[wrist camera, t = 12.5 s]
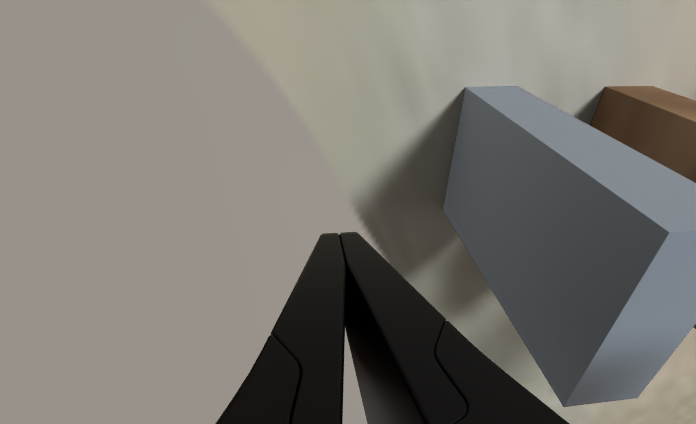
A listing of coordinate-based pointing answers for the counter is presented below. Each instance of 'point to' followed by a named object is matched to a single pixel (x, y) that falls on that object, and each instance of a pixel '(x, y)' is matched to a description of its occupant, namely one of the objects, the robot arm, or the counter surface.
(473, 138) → the domino
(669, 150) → the domino
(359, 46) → the counter surface
